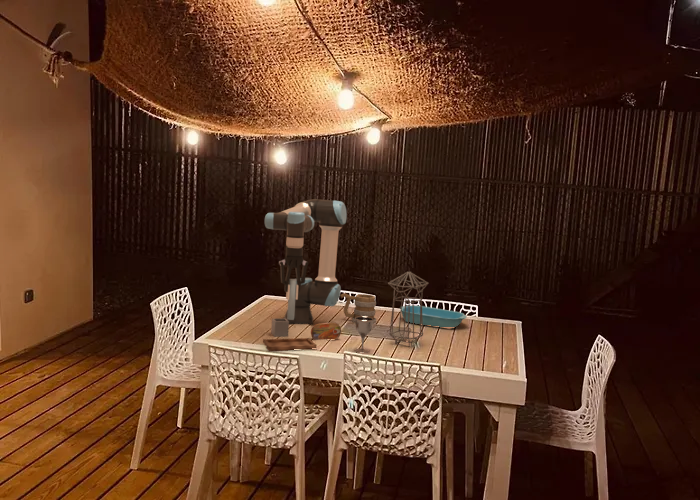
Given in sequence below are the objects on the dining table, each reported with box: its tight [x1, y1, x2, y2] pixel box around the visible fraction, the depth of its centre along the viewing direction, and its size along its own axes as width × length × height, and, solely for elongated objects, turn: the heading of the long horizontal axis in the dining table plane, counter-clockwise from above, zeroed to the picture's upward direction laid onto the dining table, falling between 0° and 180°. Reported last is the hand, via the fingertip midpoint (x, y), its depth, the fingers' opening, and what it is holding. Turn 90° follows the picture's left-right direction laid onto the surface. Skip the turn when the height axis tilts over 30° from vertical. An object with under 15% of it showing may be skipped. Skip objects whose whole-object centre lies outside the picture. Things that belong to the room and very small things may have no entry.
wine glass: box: [354, 316, 374, 354], centre depth 298 cm, size 8×8×15 cm
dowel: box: [287, 278, 296, 320], centre depth 295 cm, size 3×3×18 cm
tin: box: [310, 322, 342, 341], centre depth 313 cm, size 15×3×8 cm, turn 117°
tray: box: [262, 337, 318, 352], centre depth 298 cm, size 22×13×2 cm, turn 110°
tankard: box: [340, 292, 377, 325], centre depth 356 cm, size 20×13×15 cm, turn 88°
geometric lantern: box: [387, 271, 430, 348], centre depth 314 cm, size 16×16×35 cm
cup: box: [270, 317, 290, 338], centre depth 314 cm, size 7×7×8 cm
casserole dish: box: [399, 304, 467, 328], centre depth 362 cm, size 37×22×7 cm, turn 67°
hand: (291, 298), depth 295 cm, fingers closed on dowel, 3 cm apart
